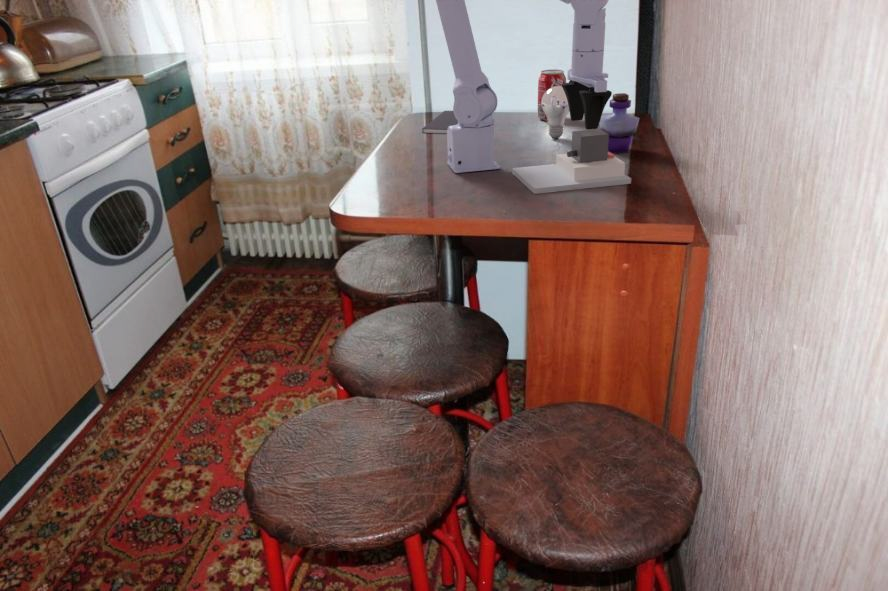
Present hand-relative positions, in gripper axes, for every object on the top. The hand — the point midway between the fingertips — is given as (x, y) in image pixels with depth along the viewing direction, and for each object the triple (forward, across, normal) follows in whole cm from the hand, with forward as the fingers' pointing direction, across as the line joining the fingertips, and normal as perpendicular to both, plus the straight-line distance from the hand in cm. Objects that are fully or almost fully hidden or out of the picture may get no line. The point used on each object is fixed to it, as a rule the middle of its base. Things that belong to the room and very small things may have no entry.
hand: (584, 124), depth 137 cm
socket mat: (+10, -2, +3) cm, 10 cm away
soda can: (+10, +48, -11) cm, 51 cm away
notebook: (+11, +52, +13) cm, 55 cm away
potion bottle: (+10, +14, -14) cm, 22 cm away
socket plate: (+9, -2, -1) cm, 9 cm away
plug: (+8, -2, -1) cm, 8 cm away
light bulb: (+10, +28, -5) cm, 31 cm away
